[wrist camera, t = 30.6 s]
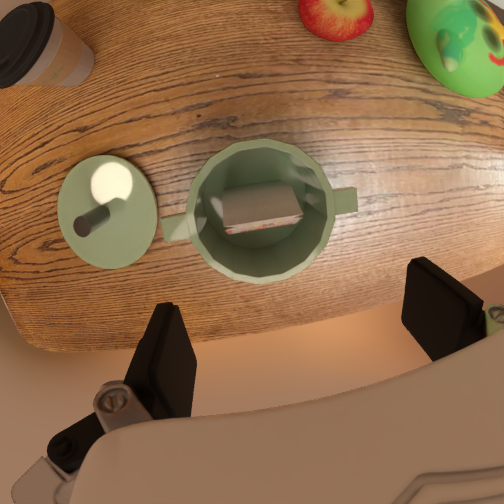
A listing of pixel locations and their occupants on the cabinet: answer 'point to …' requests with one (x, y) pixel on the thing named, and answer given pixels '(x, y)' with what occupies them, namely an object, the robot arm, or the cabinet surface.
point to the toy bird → (459, 44)
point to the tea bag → (259, 207)
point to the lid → (107, 211)
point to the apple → (336, 18)
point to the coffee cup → (41, 49)
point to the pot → (269, 239)
